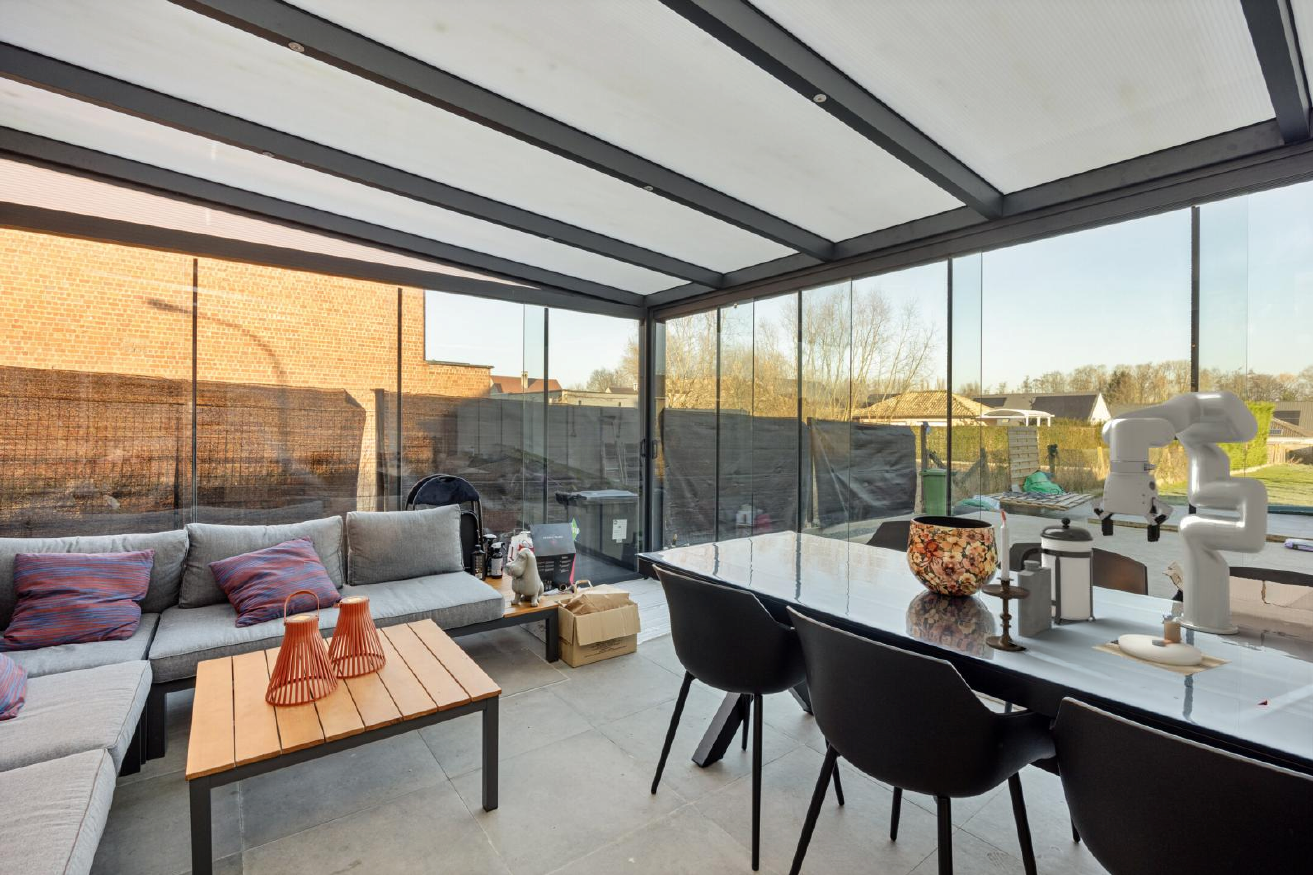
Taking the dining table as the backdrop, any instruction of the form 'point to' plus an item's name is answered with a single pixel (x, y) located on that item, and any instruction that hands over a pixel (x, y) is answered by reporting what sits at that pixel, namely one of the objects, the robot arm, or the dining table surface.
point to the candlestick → (1005, 596)
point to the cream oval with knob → (1162, 647)
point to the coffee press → (1067, 569)
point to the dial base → (1181, 669)
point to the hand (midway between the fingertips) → (1129, 538)
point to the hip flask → (1035, 599)
